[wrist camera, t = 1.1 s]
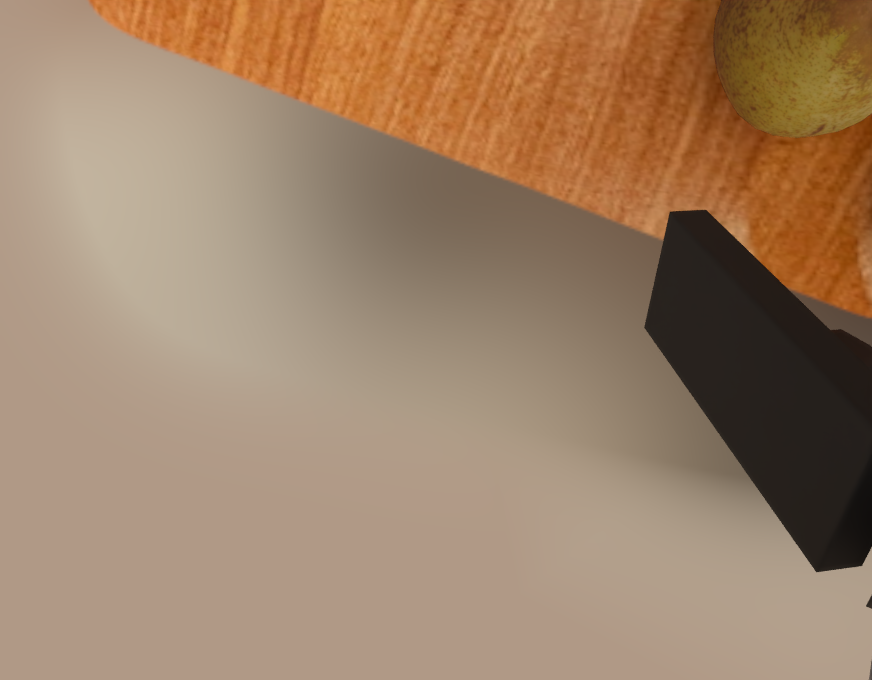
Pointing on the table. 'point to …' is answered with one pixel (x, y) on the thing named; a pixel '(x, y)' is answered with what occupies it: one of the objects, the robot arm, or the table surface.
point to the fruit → (796, 63)
